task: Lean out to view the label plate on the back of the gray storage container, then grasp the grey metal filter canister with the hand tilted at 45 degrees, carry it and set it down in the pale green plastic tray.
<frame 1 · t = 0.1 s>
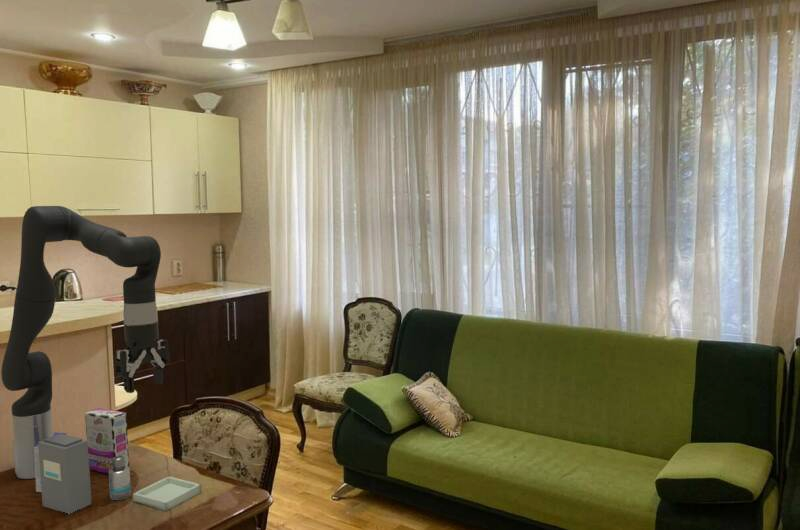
hand: (144, 387, 155), 29 cm above the table, tool pointing down, fingers open, 8 cm apart
tray: (167, 496, 162), on the table
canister: (120, 496, 163), on the table
gray storage container: (67, 505, 159), on the table
ink cartridge box: (60, 490, 168), on the table
candy bar box: (109, 470, 179), on the table
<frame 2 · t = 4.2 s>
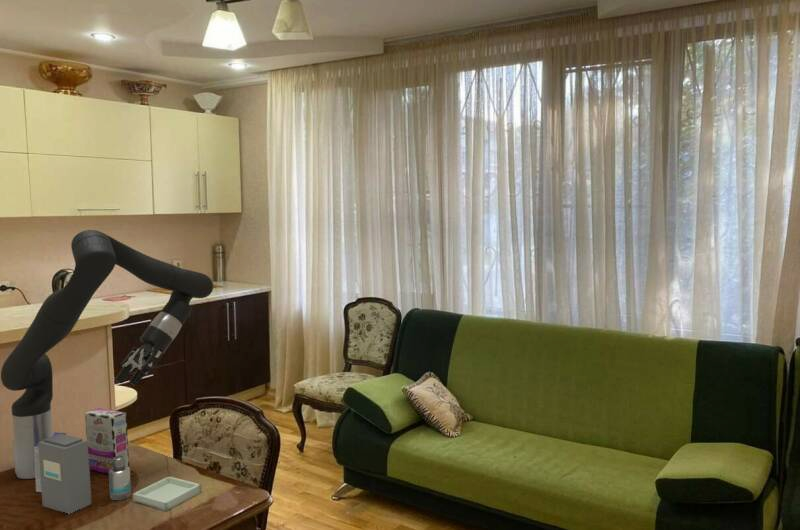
hand: (125, 383, 171), 26 cm above the table, tool tilted 45°, fingers open, 8 cm apart
nothing on the table moved.
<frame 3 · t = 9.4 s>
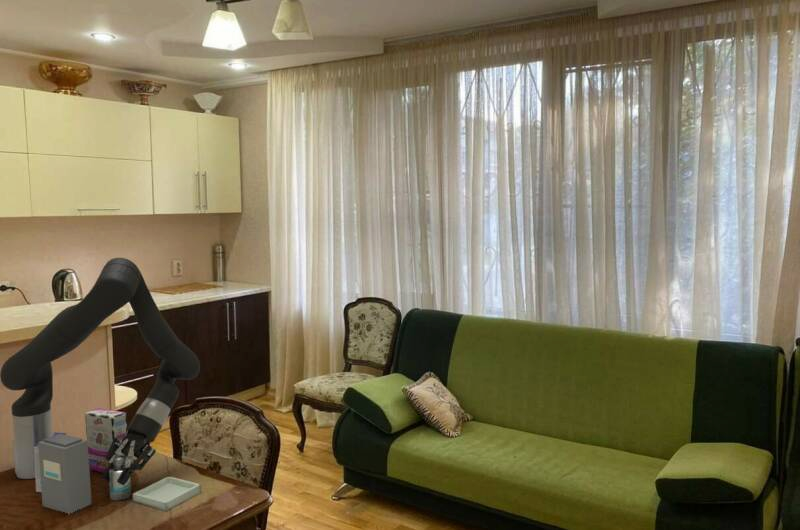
hand: (113, 481, 161), 5 cm above the table, tool tilted 45°, fingers closed on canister, 4 cm apart
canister: (120, 496, 163), on the table, touching gripper
everything else where it was.
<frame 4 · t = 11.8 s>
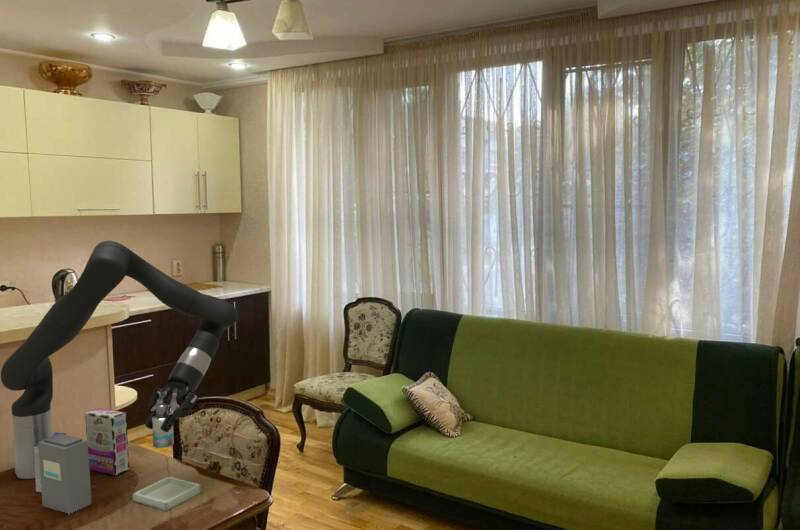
hand: (156, 428, 158), 18 cm above the table, tool tilted 45°, fingers closed on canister, 4 cm apart
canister: (163, 444, 160), point 14 cm above the table, touching gripper
everything else where it was.
when the fingers open (6 cm above the table, at t = 14.6 s): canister stays where it is, resting on tray.
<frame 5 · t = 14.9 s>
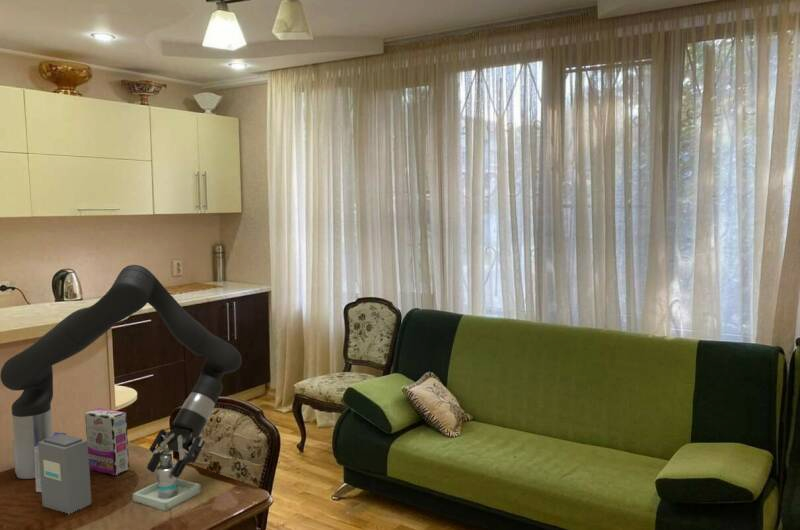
hand: (161, 473, 160), 7 cm above the table, tool tilted 45°, fingers open, 8 cm apart
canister: (168, 494, 162), point 1 cm above the table, touching tray
everything else where it was.
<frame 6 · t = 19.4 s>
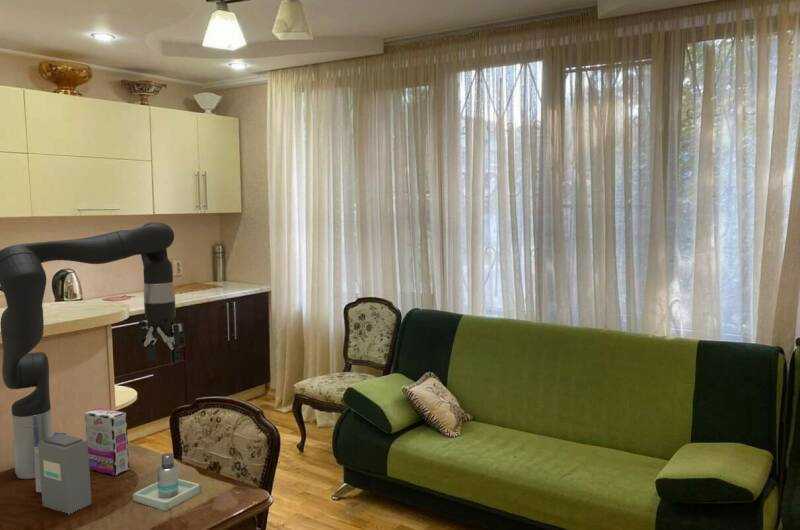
hand: (162, 361, 168), 32 cm above the table, tool pointing down, fingers open, 8 cm apart
nothing on the table moved.
at the end: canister inside the target area on the tray (0.1 cm from its centre), point 0.7 cm above the tray's base; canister tilted 2°; the gripper is holding nothing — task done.
